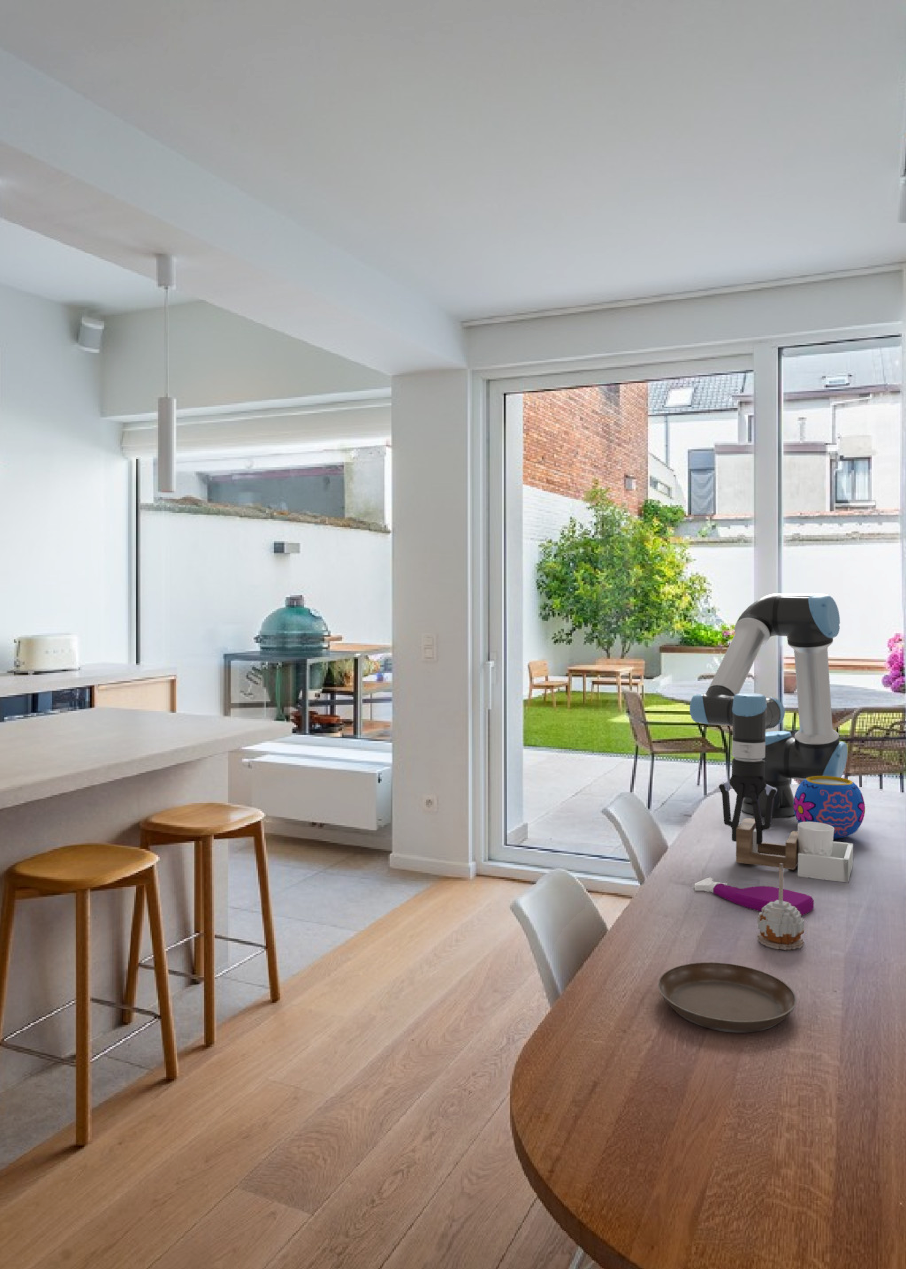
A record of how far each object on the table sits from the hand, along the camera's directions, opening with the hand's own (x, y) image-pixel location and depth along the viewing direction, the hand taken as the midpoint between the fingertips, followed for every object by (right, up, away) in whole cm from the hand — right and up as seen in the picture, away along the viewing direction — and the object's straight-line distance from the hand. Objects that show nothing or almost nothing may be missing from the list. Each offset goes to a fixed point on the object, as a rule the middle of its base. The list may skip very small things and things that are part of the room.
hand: (746, 855), depth 225 cm
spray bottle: (-8, -3, -28) cm, 29 cm away
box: (+16, -1, -8) cm, 18 cm away
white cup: (+13, -2, -7) cm, 15 cm away
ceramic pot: (+28, 0, +21) cm, 35 cm away
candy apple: (-10, -4, -52) cm, 53 cm away
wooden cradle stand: (+5, 0, -2) cm, 5 cm away
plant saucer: (-28, -6, -78) cm, 83 cm away
